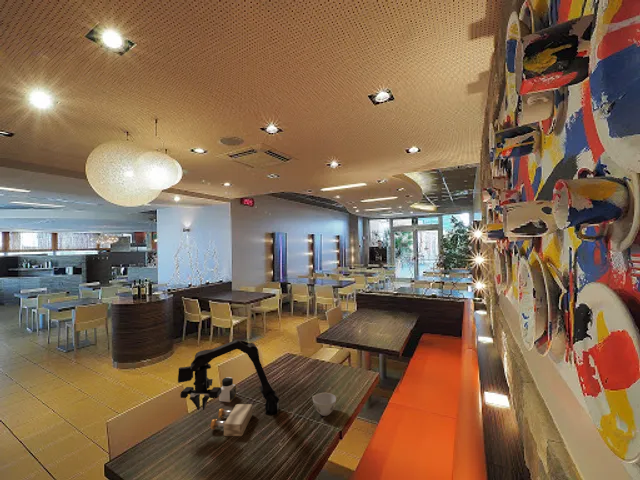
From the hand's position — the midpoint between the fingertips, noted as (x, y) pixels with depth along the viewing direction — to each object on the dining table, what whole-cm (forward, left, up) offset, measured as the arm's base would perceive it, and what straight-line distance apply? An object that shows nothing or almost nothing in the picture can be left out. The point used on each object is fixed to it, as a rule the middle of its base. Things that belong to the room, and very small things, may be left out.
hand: (201, 409), depth 141 cm
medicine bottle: (-2, -28, -10) cm, 30 cm away
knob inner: (-10, -9, -9) cm, 17 cm away
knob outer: (-10, 0, -9) cm, 14 cm away
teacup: (-60, -16, -10) cm, 63 cm away
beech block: (-17, -4, -10) cm, 20 cm away
